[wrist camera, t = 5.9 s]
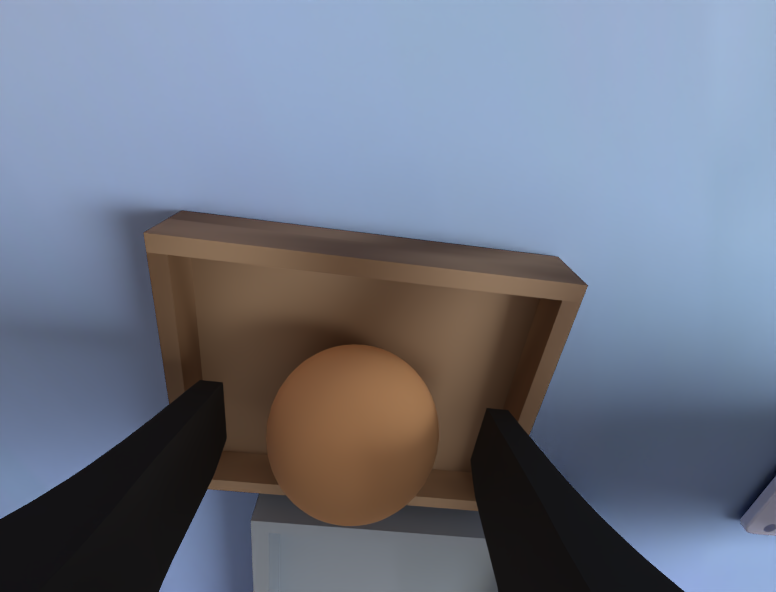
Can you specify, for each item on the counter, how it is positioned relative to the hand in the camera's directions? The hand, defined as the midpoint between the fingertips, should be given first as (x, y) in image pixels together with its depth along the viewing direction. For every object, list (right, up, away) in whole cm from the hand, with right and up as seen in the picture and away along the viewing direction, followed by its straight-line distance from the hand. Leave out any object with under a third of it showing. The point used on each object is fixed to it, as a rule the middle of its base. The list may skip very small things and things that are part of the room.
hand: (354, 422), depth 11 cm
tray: (0, +1, +3) cm, 3 cm away
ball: (0, 0, 0) cm, 0 cm away
